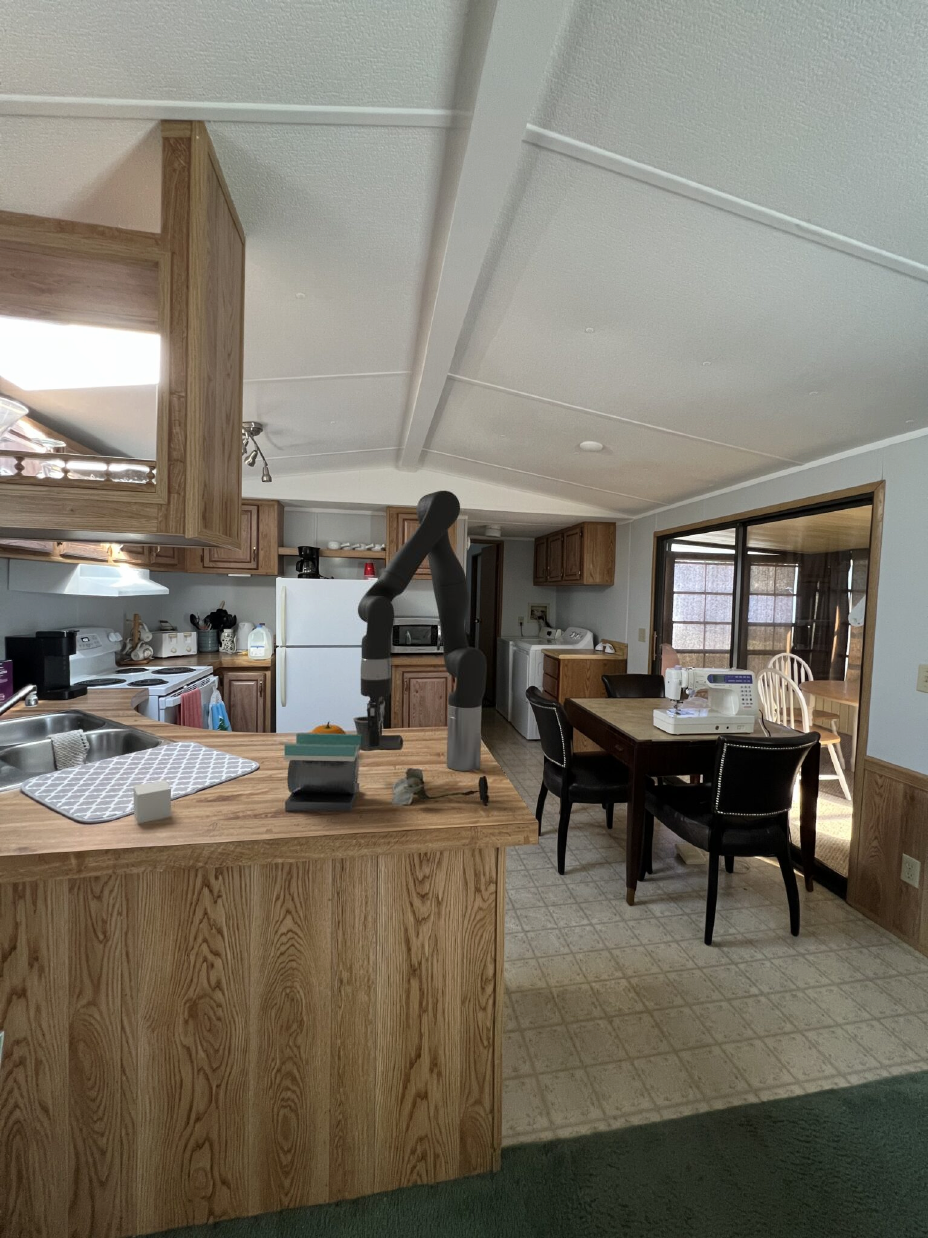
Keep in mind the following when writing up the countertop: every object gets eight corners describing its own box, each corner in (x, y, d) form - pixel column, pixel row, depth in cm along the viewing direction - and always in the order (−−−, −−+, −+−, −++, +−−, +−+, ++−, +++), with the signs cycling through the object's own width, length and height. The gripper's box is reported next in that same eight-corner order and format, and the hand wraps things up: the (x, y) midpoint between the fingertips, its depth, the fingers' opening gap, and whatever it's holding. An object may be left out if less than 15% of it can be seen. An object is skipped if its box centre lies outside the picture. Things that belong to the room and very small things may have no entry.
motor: (361, 791, 128) (362, 733, 127) (352, 812, 116) (353, 748, 115) (297, 790, 127) (298, 732, 127) (282, 811, 115) (283, 746, 115)
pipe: (398, 756, 130) (397, 723, 130) (348, 752, 133) (348, 720, 132) (405, 748, 136) (405, 717, 136) (358, 745, 139) (358, 714, 138)
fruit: (335, 747, 163) (335, 715, 162) (355, 757, 154) (356, 722, 154) (298, 754, 155) (299, 720, 154) (318, 765, 146) (318, 729, 146)
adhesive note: (133, 814, 112) (133, 785, 112) (165, 807, 116) (165, 780, 115) (137, 824, 107) (137, 794, 107) (170, 817, 111) (170, 788, 111)
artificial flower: (488, 818, 118) (483, 779, 115) (390, 820, 122) (382, 783, 119) (491, 793, 127) (486, 756, 124) (399, 796, 130) (392, 760, 127)
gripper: (387, 681, 127) (388, 751, 128) (393, 671, 141) (393, 734, 142) (355, 681, 126) (356, 751, 127) (365, 671, 141) (365, 734, 142)
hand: (376, 742), depth 135 cm, fingers closed on pipe, 5 cm apart
